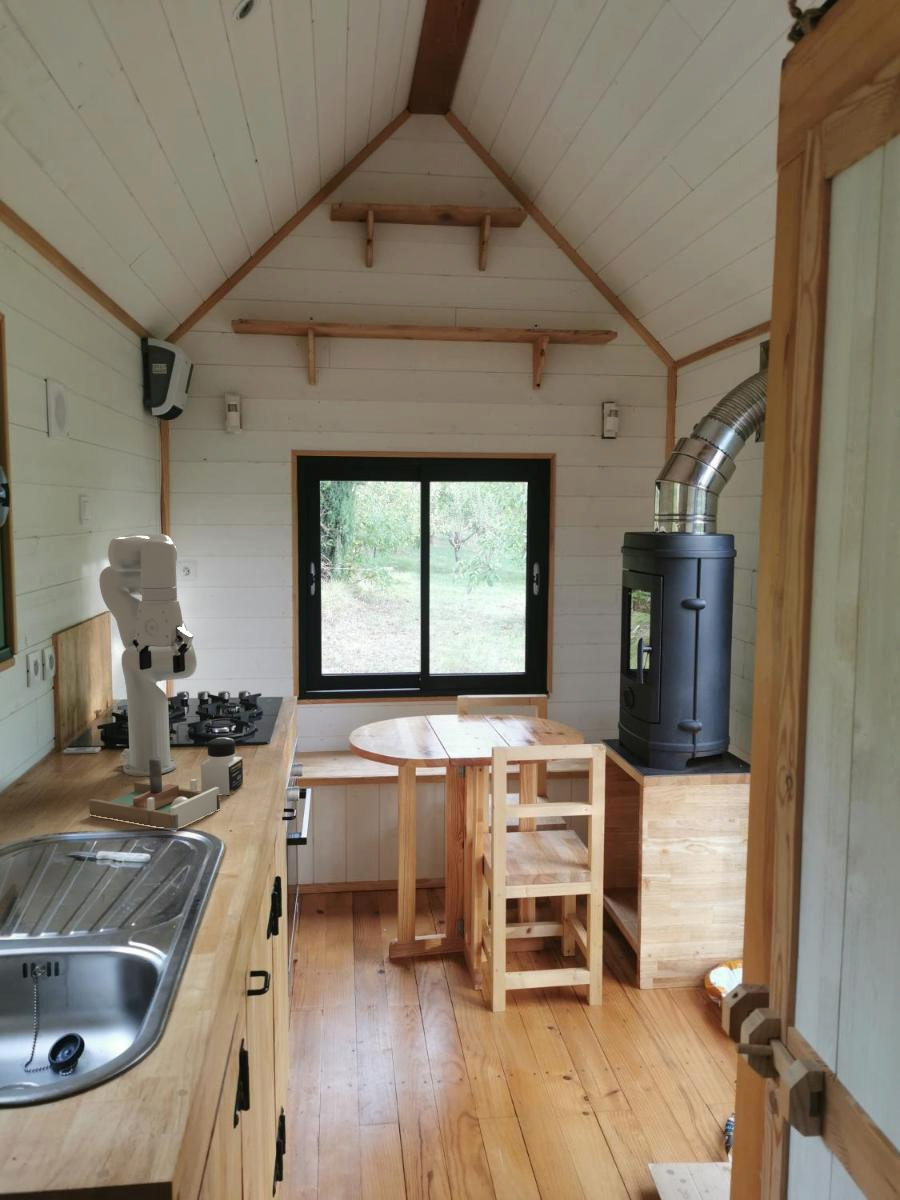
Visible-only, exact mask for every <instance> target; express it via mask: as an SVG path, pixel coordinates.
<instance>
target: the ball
mask: <svg viewBox="0 0 900 1200" xmlns="http://www.w3.org/2000/svg"><path fill="white" fill-rule="evenodd" d="M186 800H188V798H186V797H178V798H176V799H175V800H174V801H173V802H172V805H171V807H173V806H175V805H177V804H179V803H181V802H184V801H186Z"/></svg>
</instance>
